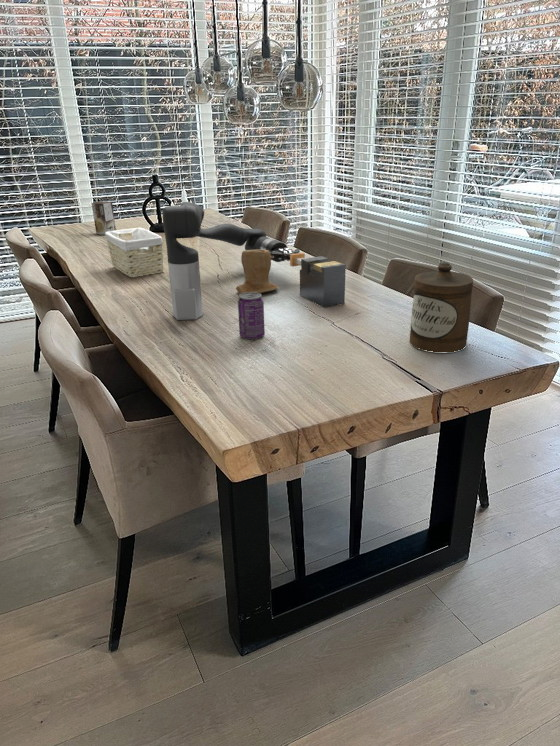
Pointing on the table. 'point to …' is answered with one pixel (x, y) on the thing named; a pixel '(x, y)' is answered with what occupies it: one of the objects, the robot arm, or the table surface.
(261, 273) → the stone cup
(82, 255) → the table surface
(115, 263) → the storage basket
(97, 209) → the coffee box
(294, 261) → the sliding latch bolt
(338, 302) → the latch bracket
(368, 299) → the table surface
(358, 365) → the table surface
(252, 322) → the beverage can
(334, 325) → the table surface
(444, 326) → the wooden container
